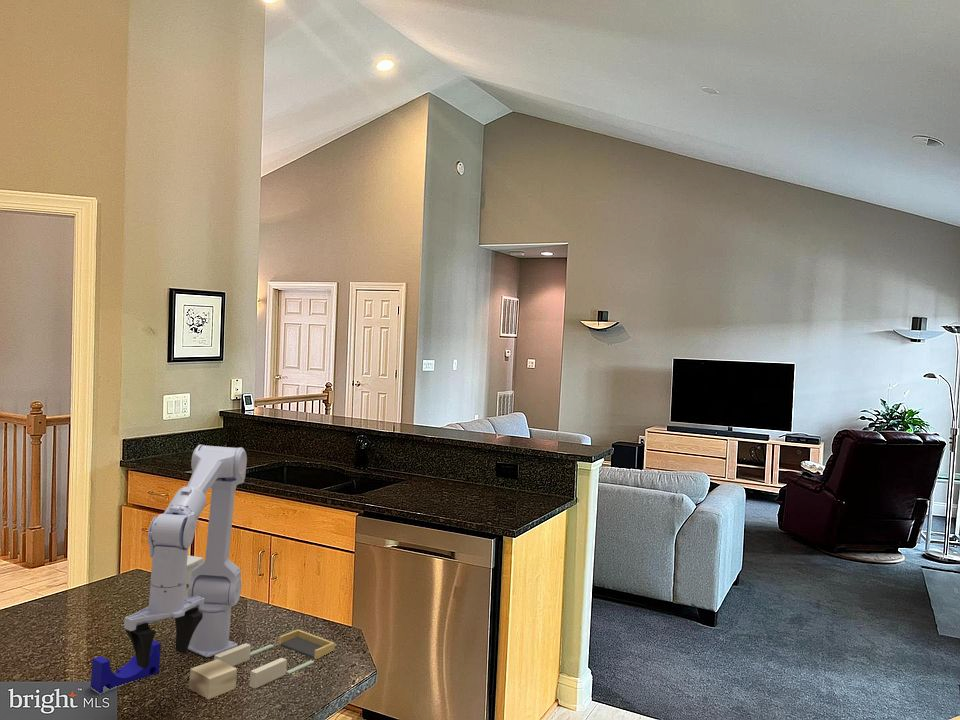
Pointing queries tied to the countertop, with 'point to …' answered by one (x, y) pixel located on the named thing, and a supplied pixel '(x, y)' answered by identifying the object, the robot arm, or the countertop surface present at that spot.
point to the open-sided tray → (306, 644)
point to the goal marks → (288, 670)
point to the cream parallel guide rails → (258, 674)
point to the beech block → (213, 678)
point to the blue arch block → (123, 670)
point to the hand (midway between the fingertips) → (162, 658)
